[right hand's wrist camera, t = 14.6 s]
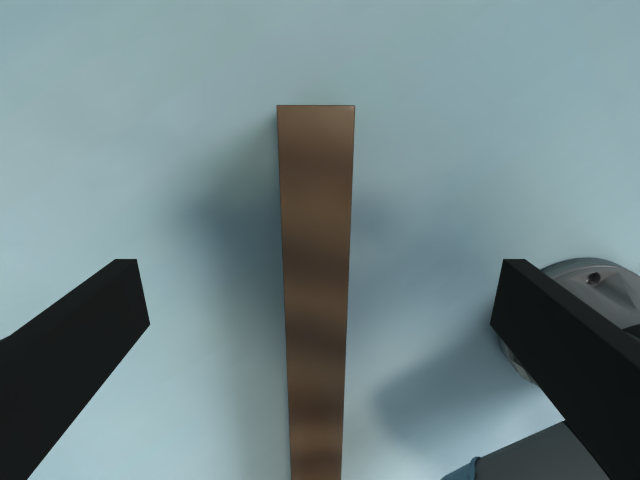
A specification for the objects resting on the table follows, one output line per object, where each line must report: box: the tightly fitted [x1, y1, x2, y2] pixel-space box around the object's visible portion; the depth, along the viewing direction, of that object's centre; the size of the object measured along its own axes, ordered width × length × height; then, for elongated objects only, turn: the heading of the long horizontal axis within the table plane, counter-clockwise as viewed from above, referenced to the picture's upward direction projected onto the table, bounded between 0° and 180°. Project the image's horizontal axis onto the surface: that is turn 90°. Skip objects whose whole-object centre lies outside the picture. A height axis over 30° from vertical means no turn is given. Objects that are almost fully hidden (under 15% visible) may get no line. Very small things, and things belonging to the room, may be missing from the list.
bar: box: [277, 105, 355, 480], centre depth 40 cm, size 80×5×8 cm, turn 0°
